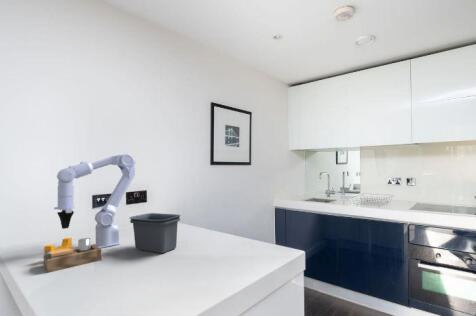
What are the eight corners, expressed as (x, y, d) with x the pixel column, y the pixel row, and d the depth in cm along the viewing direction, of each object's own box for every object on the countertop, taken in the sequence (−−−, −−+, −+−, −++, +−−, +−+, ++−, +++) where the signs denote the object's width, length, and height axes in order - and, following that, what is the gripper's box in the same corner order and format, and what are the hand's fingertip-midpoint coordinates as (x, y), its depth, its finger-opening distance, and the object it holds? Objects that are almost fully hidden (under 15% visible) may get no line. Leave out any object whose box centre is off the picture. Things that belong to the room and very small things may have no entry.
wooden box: (94, 254, 109) (94, 240, 109) (101, 259, 102) (101, 245, 102) (43, 265, 97) (43, 250, 98) (47, 272, 90) (47, 256, 90)
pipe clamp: (61, 253, 112) (61, 238, 113) (71, 253, 112) (71, 237, 112) (39, 263, 100) (39, 246, 101) (50, 263, 100) (50, 246, 100)
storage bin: (125, 250, 113) (125, 217, 114) (153, 241, 127) (152, 211, 127) (162, 257, 103) (161, 220, 104) (187, 246, 117) (187, 213, 117)
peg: (89, 257, 105) (89, 237, 105) (91, 260, 102) (91, 239, 102) (77, 260, 102) (77, 239, 103) (79, 262, 99) (79, 241, 100)
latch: (46, 258, 93) (46, 254, 93) (45, 255, 95) (45, 252, 96) (73, 253, 98) (73, 249, 98) (71, 250, 101) (71, 247, 101)
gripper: (51, 196, 116) (51, 227, 115) (57, 198, 105) (57, 232, 105) (70, 194, 121) (70, 224, 120) (77, 196, 110) (77, 229, 109)
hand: (65, 228), depth 113 cm, fingers closed
